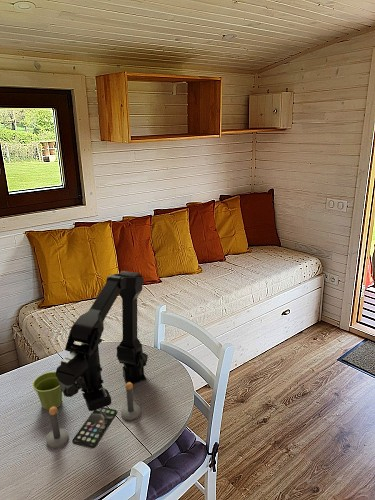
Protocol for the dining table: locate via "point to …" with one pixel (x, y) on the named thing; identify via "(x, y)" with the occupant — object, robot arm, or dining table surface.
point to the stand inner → (130, 405)
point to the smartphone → (94, 427)
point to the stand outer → (56, 432)
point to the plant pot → (48, 390)
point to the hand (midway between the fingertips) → (94, 408)
